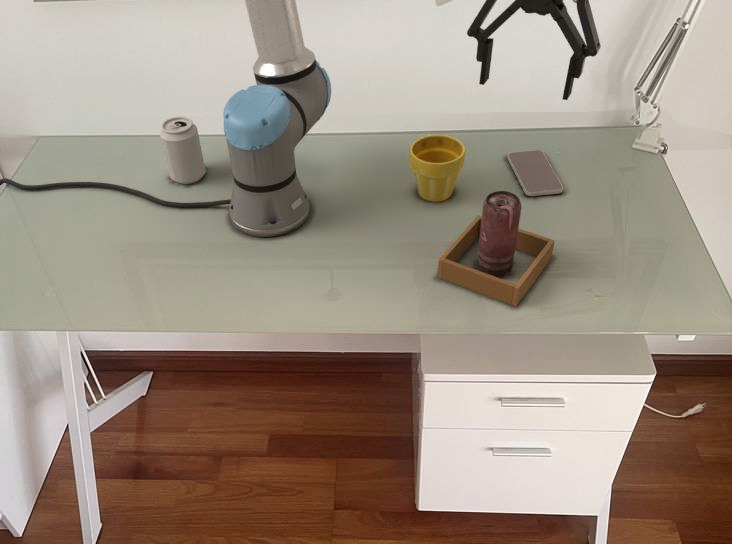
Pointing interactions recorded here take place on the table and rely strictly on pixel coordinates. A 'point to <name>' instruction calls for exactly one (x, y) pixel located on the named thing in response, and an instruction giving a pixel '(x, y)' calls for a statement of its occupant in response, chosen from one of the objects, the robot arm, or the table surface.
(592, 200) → the table surface
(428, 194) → the flower pot
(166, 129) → the can
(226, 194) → the table surface
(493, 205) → the can
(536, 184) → the smartphone
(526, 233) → the wooden square frame
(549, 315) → the table surface
